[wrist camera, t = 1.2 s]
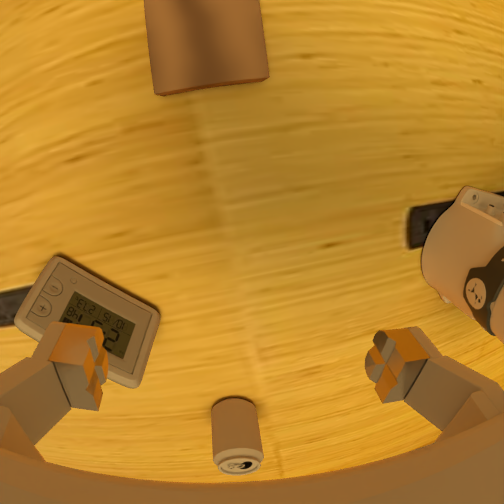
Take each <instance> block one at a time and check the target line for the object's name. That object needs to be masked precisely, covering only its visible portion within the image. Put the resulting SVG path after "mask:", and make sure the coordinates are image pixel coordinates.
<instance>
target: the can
mask: <svg viewBox="0 0 504 504" xmlns="http://www.w3.org/2000/svg"><path fill="white" fill-rule="evenodd" d="M211 422H212V445H213V461H214V463H215V464H216V465H217V466H218V469H219V471H221V472H222V473H224V474H228V475H246V474H250V473H253V472H255V471H257V470H258V469H259V468H260V466H261V464H260V463H261V461H262V460H263V458H264V455H263V449H262V443H261V437H260V431H259V424H258V418H257V412H256V408H255V406H254V405H253V404H252V403H250V402H248V401H246V400H244V399H240V398H229V399H225V400H222V401H221V402H219V403H218V404H216V405H215V406H214V407H213V408H212V411H211Z"/></svg>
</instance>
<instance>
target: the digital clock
mask: <svg viewBox="0 0 504 504" xmlns="http://www.w3.org/2000/svg"><path fill="white" fill-rule="evenodd" d="M53 321H56V322H63V323H71V324H78V325H86V326H94V327H100V328H101V329H102V332H103V337H104V340H103V343H102V346H103V348H104V349H105V350H106V351H107V355H108V375H107V379H109V380H112V381H114V382H116V383H118V384H120V385H123V386H125V387H128V388H137V387H138V386H139V385H140V383H141V381H142V378H143V374H144V371H145V368H146V364H147V361H148V358H149V355H150V351H151V348H152V345H153V342H154V339H155V335H156V332H157V329H158V326H159V323H160V314H159V313H158V312H157V311H156V310H155V309H153V308H151V307H150V306H148V305H146V304H144V303H142V302H140V301H138V300H137V299H135V298H133V297H131V296H129V295H127V294H125V293H123V292H122V291H120V290H118V289H116V288H114V287H112V286H111V285H109V284H107V283H105V282H104V281H102V280H100V279H98V278H96V277H95V276H93V275H91V274H89V273H88V272H86V271H84V270H83V269H81V268H79V267H77V266H76V265H74V264H72V263H71V262H69V261H67V260H65V259H63V258H61V257H58V256H54V257H52V258H51V259H50V260H49V262H48V263H47V265H46V266H45V268H44V269H43V271H42V272H41V274H40V275H39V277H38V278H37V280H36V282H35V283H34V285H33V286H32V288H31V290H30V291H29V293H28V295H27V296H26V298H25V300H24V301H23V303H22V305H21V307H20V308H19V310H18V312H17V314H16V316H15V319H14V323H15V325H16V327H17V328H18V329H19V330H20V331H22V332H23V333H25V334H26V335H28V336H29V337H31V338H33V339H34V340H36V341H38V342H40V340H41V338H42V336H43V335H44V333H45V331H46V329H47V328H48V326H49V324H50V323H51V322H53Z"/></svg>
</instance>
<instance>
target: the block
mask: <svg viewBox="0 0 504 504" xmlns="http://www.w3.org/2000/svg"><path fill="white" fill-rule="evenodd" d="M144 8H145V19H146V29H147V38H148V47H149V56H150V64H151V71H152V79H153V86H154V93H155V94H156V95H160V96H166V95H171V94H176V93H182V92H187V91H193V90H199V89H205V88H212V87H219V86H226V85H234V84H242V83H252V82H262V81H264V80H265V79H267V78H269V69H268V61H267V54H266V46H265V39H264V31H263V24H262V17H261V10H260V3H259V0H144Z"/></svg>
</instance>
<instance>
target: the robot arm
mask: <svg viewBox="0 0 504 504" xmlns="http://www.w3.org/2000/svg"><path fill="white" fill-rule="evenodd" d="M422 272H423V276H424V278H425V280H426V282H427V283H428V284H429V285H430V286H431V287H433V288H434V289H436V290H437V291H438V292H439V295H440V297H441V299H442V300H443V301H444V302H446V303H450V302H452V303H453V304H454V305H455V306H457V307H458V308H459V309H460V310H461V311H463V312H464V313H465V314H466V315H468V316H469V317H470V318H471V319H473V320H476V321H477V322H478V323H479V324H480V325H481V327H482V328H483V329H484V330H485V331H487V332H488V333H489V334H491V335H493V336H497V337H498V339H499V340H500V341H501V342H502V343H503V344H504V196H501V195H497V194H494V193H491V192H487V191H484V190H480V189H477V188H473V187H470V186H465V187H464V188H463V189H462V190H461V192H460V193H459V195H458V197H457V199H456V200H455V202H454V203H453V205H452V206H451V207H450V208H448V209H447V210H446V211H445V212H444V213H443V214H442V215H441V216H440V217H439V219H438V220H437V221H436V223H435V224H434V226H433V227H432V229H431V231H430V233H429V235H428V237H427V239H426V242H425V245H424V249H423V253H422ZM103 340H104V337H103V332H102V329H101V328H100V327H94V326H86V325H78V324H71V323H63V322H56V321H53V322H51V323H50V324H49V326H48V328H47V329H46V331H45V333H44V335H43V336H42V338H41V340H40V342H39V344H38V346H37V348H36V349H35V351H34V353H33V355H32V357H31V358H29V357H26V358H25V359H23V360H21V361H20V362H18V363H16V364H15V365H13V366H12V367H10V368H8V369H7V370H5V371H4V372H2V373H0V504H504V391H503V390H502V388H501V387H500V386H499V384H498V383H497V382H495V381H493V380H491V379H489V378H487V377H485V376H483V375H481V374H480V373H478V372H476V371H474V370H472V369H470V368H468V367H466V366H465V365H463V364H461V363H459V362H457V361H455V360H453V359H451V358H449V357H448V356H442V355H441V353H440V352H439V351H438V350H437V348H436V347H435V346H434V345H433V343H432V342H431V341H430V340H429V338H428V337H427V336H426V335H425V334H424V332H423V331H422V330H421V329H420V328H418V327H407V328H401V329H391V330H379V331H378V332H377V333H376V334H375V336H374V339H373V343H374V346H373V347H372V348H371V349H370V350H369V351H368V353H367V356H366V358H365V370H366V373H367V375H368V377H369V379H370V380H372V381H373V382H375V383H376V385H375V391H376V392H377V394H378V396H379V398H380V400H381V402H382V404H383V403H389V402H395V401H400V400H404V402H406V403H407V404H408V405H409V406H411V407H412V408H413V409H414V410H416V411H417V412H418V413H419V414H421V415H422V416H423V417H425V418H426V419H427V420H428V421H430V422H431V423H432V424H433V425H435V426H436V427H437V428H439V429H440V430H441V431H442V433H441V434H440V435H439V436H438V438H437V439H436V440H435V443H433V444H430V445H427V446H424V447H421V448H419V449H416V450H413V451H409V452H406V453H403V454H400V455H397V456H393V457H390V458H386V459H383V460H379V461H375V462H371V463H367V464H363V465H359V466H354V467H350V468H345V469H340V470H335V471H330V472H325V473H319V474H313V475H306V476H299V477H292V478H284V479H275V480H264V481H250V482H230V483H186V482H166V481H153V480H142V479H133V478H125V477H118V476H111V475H105V474H99V473H93V472H88V471H83V470H78V469H73V468H69V467H65V466H61V465H56V464H53V463H49V462H46V461H45V460H44V458H43V457H42V455H41V454H40V453H39V451H38V450H37V449H36V447H35V446H34V445H35V444H36V443H37V442H38V441H39V440H40V439H41V438H42V437H43V436H44V435H45V434H46V433H47V432H48V431H49V430H50V429H51V428H52V427H53V426H54V425H55V424H56V423H57V422H58V421H60V420H61V419H62V418H63V417H64V416H65V415H66V414H67V413H68V412H69V411H70V410H71V407H72V408H79V409H86V410H94V411H99V407H100V403H101V399H102V395H103V392H102V389H101V385H102V384H104V383H105V382H106V379H107V375H108V355H107V351H106V350H105V349H104V348H103V346H102V343H103Z"/></svg>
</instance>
